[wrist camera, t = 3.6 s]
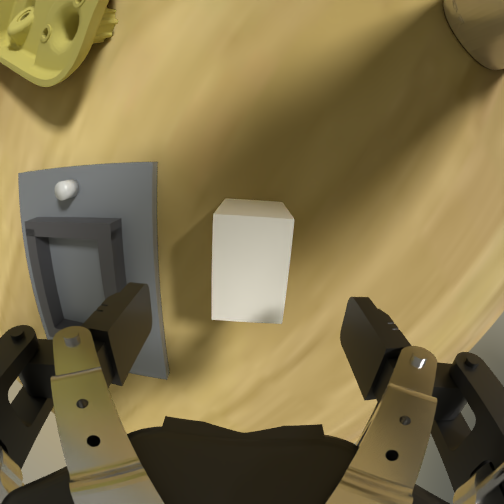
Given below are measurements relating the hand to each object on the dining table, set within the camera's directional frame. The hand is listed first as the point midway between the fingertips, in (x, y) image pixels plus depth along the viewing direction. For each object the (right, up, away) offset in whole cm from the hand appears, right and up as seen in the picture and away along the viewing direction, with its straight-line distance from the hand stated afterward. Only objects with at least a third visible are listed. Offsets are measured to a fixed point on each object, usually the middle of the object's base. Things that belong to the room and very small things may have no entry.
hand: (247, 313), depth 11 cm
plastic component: (-17, +23, +3) cm, 29 cm away
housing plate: (-14, 0, +11) cm, 18 cm away
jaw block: (0, +3, +10) cm, 10 cm away
